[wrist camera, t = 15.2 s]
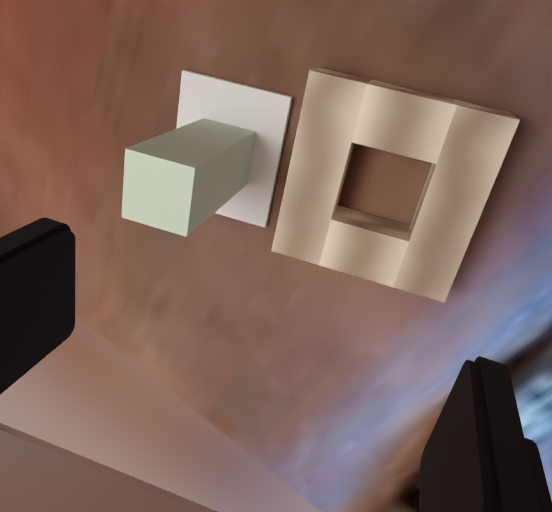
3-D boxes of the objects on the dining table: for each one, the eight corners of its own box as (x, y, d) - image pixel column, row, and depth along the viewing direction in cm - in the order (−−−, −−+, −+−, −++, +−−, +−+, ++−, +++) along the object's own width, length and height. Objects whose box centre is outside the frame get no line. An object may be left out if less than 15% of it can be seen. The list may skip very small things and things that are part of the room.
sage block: (256, 131, 39) (195, 167, 29) (246, 184, 41) (186, 237, 31) (203, 118, 40) (125, 148, 29) (197, 170, 42) (121, 217, 32)
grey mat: (292, 96, 38) (291, 97, 38) (267, 225, 43) (264, 227, 43) (185, 69, 39) (182, 70, 39) (172, 197, 44) (169, 199, 44)
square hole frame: (511, 112, 35) (519, 120, 32) (442, 282, 41) (444, 302, 38) (319, 66, 37) (309, 70, 34) (282, 235, 43) (271, 250, 40)
